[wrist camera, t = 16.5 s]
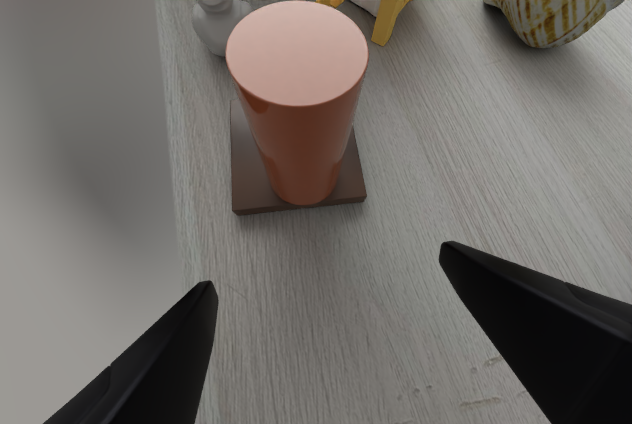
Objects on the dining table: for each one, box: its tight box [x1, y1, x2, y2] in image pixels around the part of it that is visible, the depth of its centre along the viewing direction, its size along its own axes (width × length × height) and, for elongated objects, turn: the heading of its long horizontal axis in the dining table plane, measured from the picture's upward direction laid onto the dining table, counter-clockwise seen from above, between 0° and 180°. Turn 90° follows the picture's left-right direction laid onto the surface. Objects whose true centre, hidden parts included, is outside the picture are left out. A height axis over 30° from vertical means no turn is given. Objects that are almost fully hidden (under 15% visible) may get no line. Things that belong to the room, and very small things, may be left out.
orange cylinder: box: [225, 1, 369, 205], centre depth 14 cm, size 5×5×10 cm
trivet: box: [230, 100, 367, 215], centre depth 20 cm, size 10×10×1 cm
